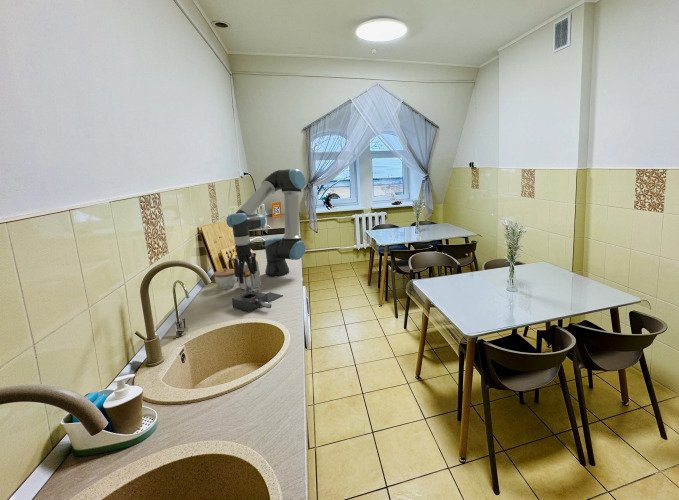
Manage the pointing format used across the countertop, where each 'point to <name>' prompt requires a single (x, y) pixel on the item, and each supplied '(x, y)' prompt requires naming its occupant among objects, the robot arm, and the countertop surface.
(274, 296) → the mat
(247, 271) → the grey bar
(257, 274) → the supplement box
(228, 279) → the lidded bowl
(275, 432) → the countertop surface
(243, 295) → the block
